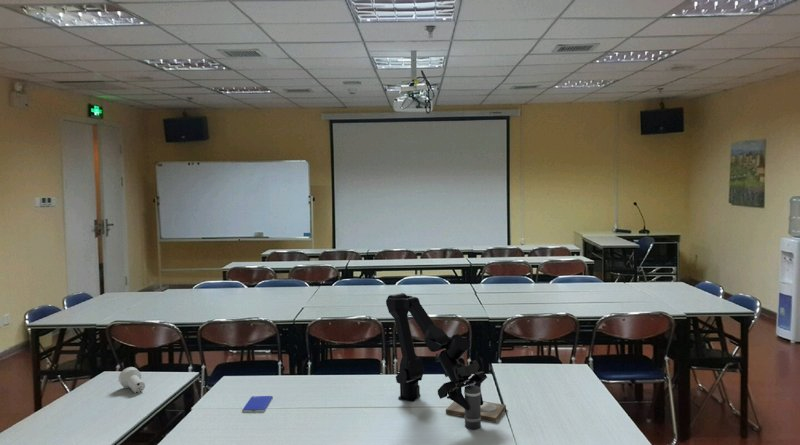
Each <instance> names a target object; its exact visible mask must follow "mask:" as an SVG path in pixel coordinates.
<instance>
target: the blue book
mask: <svg viewBox="0 0 800 445" xmlns="http://www.w3.org/2000/svg"><path fill="white" fill-rule="evenodd" d="M273 398H274V396H272V395H257V396H254V395H253V396H250V398H249V399H248V401H247V402H246V404H245V406H243V408H242V410H241V412H242V413H265V412H266V410H267V409H268V408H269V406H270V403H272V401H273Z"/></svg>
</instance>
